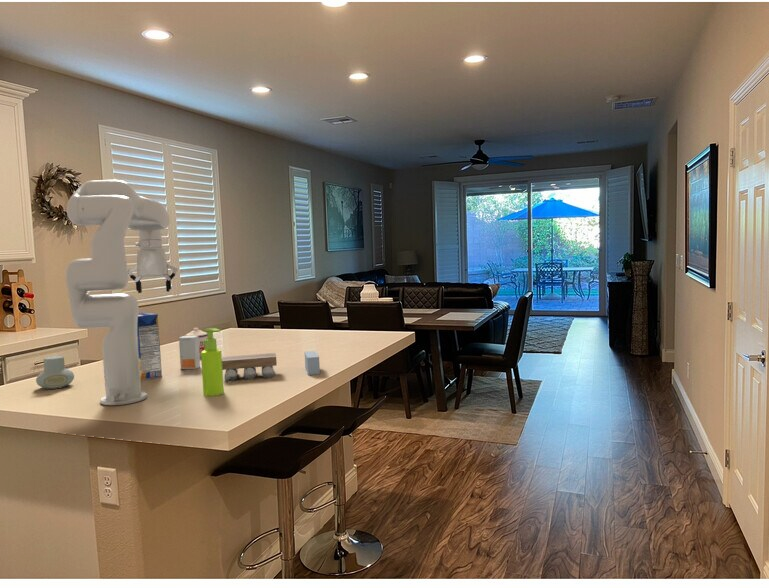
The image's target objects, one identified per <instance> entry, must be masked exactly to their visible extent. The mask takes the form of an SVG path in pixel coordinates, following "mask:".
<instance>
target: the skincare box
mask: <svg viewBox="0 0 769 588" xmlns="http://www.w3.org/2000/svg"><path fill="white" fill-rule="evenodd" d="M178 342H179V344H178V345H179V364H180V370H197V369H199V368H200V366H201V364H200V363H201V357H199V339H198V336H185V335H183V336H179V337H178ZM196 368H197V369H196Z"/></svg>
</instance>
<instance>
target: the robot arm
mask: <svg viewBox="0 0 769 588" xmlns="http://www.w3.org/2000/svg"><path fill="white" fill-rule="evenodd" d="M66 214H67V217H68V220H69V221H70V222H71V223H72V224H74V225H76V226H81V227H83V226H85V227H86V226H90V227H91V226H99V227H98V228H97V230H95V232H94V233H93V235H92V237H91V240H90V250H91V258H87V257H86V258H77V259H73V260H72V261H70V262H69V263H68V264H67V267H66V271H65V281H66V288H67V293H68V299H69V306H70V312H71V315H72V316H71V317H72V319H73V322H74V324H75V325H76V326H78V327H79V328H84V329H85V328H86V329H87V328H88V329H90V328H92V329H93V328H110V329H109V330H108V331H107V333H106V335H105V336H104V337H103V339H102V343H101V349H102V364H103V374H104V376H103V377H104V386H105V387H104V388H105V396H102V397H101V398H100V401H99V402H100V404H101V405H104V406H121V405H128V404H135V403H137V402H141V401H143V400H145V399H146V398H148V393H147V392H146V391H144V390H142V385H141V379H140V368H139V354H138V340H137V322H138V313H140V311H139V302H138V300H137V299H136V297H134V296H133V295H131V294H127V293H104V294H102V293H101V294H90V293H91V292H110V291H118V290H122V289H125V288H126V287H127V286H128V284H129V277H130V279H131V280H133V281H134V282H135V289H136V291H137V292H138V294H142V292H143V288H142V287H143V286H142V282H141V280H142V279H143V277H144V278H145V277H162V276H163V277H164V278H165V279H166V281H165V288H166V289H165V290H166V293H167V292H168V293H169V292H170V290H172V280H173V279H174V278H175V277H176V275H177V272H178V270H179V268H178V267H175V266H174V265H171V264H169V263H168V261H167V260H168V259H167V255H166V251H165V248H163V240H162V239H163V238H162V230H163V231H164V230H166V229H167V228H168V227H169V225H170V219H171V218H170V214H169V212H168V210H167V208H166V207H165V206H164V205H163V204H162V203H161V202H159V201H158V200H157V201H156V200H154V199H151V198H148V197H145V196H141V195H139V193H137V192H136V191H135V189H134V188H133V187H132V186H131V185H130V184H129V183H127V182H126V181H124V180H118V179H101V180H91V179H90V180H88V181H85V182H84V183H82V184H81V185H80V186H79V187H78V188H76V190H75V191H74V193H73V194H72V195H71V196H70V197H69V199H68V201H67V203H66ZM128 229H129V230H131V231H134V232H135V231H136V232H137V231H138V240H139V241H137V242H135V243H134V244H135V247H139V248H138V249H137V251H136V264H135V266H131V268H128V264H127V256H126V255H127V254H126V246H125V238H126V234H127V232H128V231H127V230H128ZM168 269H169V270H172V273H171V274H170V275H169V272H168V271H169V270H168ZM134 271H136V273H137V274H136V275H137V276H136V275H134V273H133V272H134Z"/></svg>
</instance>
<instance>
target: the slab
mask: <svg viewBox="0 0 769 588" xmlns="http://www.w3.org/2000/svg"><path fill="white" fill-rule="evenodd" d="M265 366H273V367H275V366H277V355H276V352H269V353H253V354H243V355H242V354H241V355H229V356H226V355H225V356H222V371H226V370H228V369H238V370H239V369H240V370H241V369H244V368H253V367H256V368H262V367H265Z"/></svg>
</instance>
